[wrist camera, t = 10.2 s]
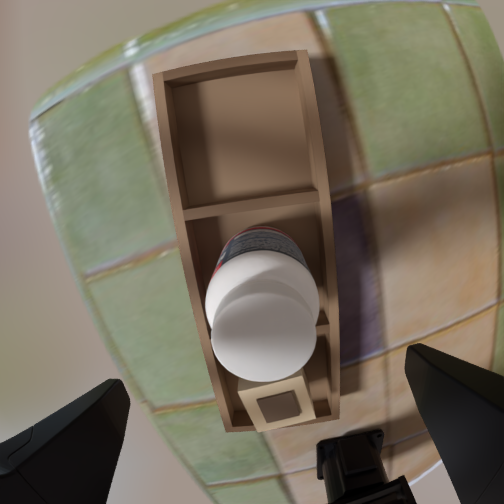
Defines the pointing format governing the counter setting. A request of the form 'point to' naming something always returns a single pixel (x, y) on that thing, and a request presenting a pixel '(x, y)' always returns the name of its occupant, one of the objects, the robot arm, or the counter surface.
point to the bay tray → (251, 193)
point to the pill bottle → (262, 306)
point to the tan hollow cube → (277, 401)
